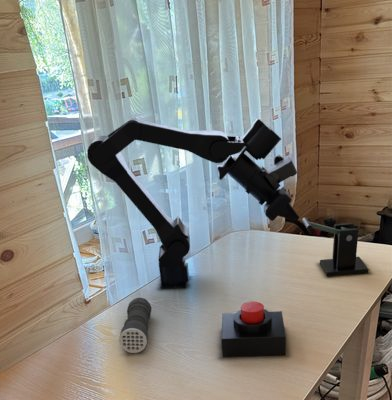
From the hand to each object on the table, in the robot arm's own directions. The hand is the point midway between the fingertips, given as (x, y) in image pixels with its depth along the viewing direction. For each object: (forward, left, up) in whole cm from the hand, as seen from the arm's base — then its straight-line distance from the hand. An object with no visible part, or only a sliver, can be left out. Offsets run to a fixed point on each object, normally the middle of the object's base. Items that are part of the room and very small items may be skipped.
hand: (297, 218), depth 121 cm
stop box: (-12, -33, -14) cm, 37 cm away
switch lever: (+7, +1, -4) cm, 8 cm away
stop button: (-12, -33, -8) cm, 36 cm away
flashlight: (-36, -28, -14) cm, 47 cm away
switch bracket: (+12, +1, -14) cm, 18 cm away
